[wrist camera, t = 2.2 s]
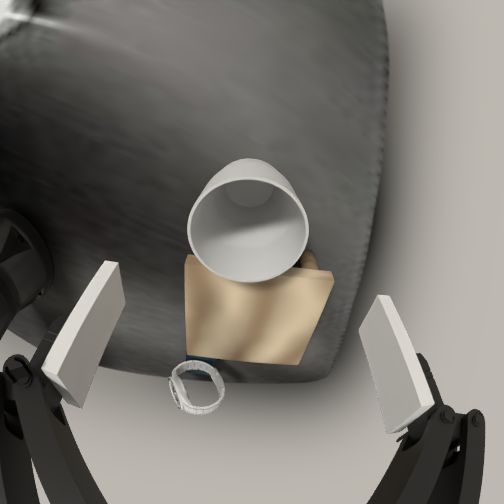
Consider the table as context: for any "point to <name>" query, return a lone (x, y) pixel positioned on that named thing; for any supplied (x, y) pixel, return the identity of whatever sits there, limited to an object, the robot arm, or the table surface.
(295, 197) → the cup
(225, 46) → the table surface
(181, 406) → the watch
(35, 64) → the table surface
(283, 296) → the small wooden table
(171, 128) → the table surface
